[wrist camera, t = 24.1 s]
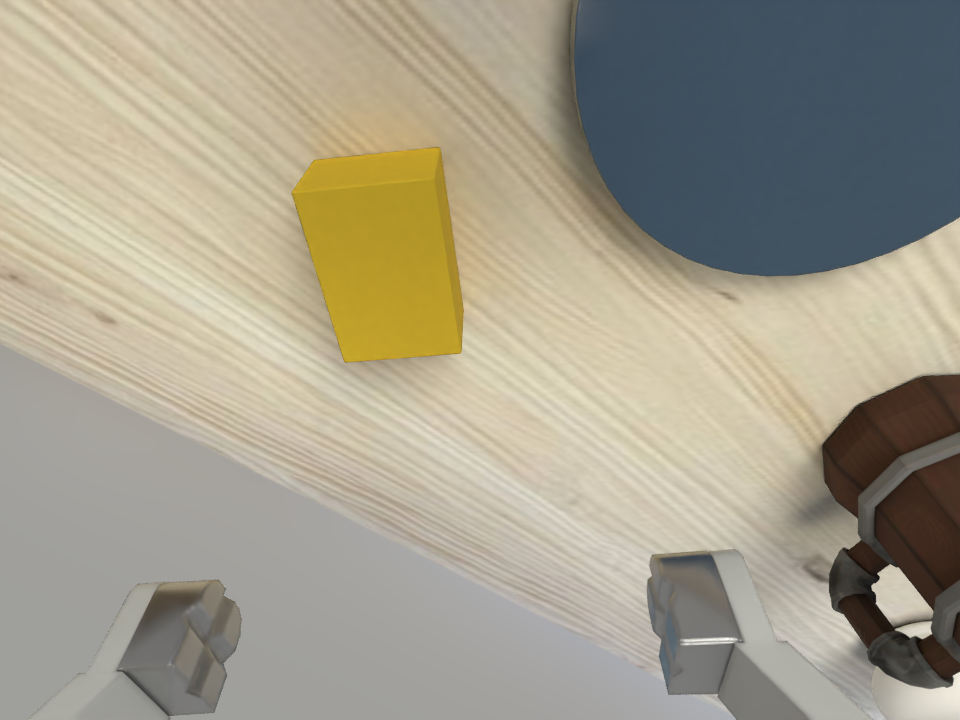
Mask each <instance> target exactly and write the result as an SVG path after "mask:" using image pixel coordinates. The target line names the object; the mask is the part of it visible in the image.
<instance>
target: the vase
mask: <svg viewBox="0 0 960 720" xmlns="http://www.w3.org/2000/svg"><path fill="white" fill-rule="evenodd" d="M931 624H932V621H928V622H919V623H913V624H909V625H904V626H902V627H899V628H896V629H895V630H896V631H899V632H902V633H904V634H906V635H907V636H908V637H909V638H911V637H914V636H917V637H919V638H921V639H924V638H926V637H927V636H929V635H931V634H932V632H931ZM953 678H954V681H953V686H951V687H949V688H946V687H940V688H935V689H926V688H921V687H915V686H910V685H908V684H905V683H903V682H901V681H899V680H897V679H895V678H893V677H890V676H888V675H886V674H885V673H884V672H883V671H882V670H881V669H880V668H879V667H878V666H876V667H875V669H874V672H873V676H872V693H873V697H874V700H875V702H876V705H877V707H878V708H879V710H880V711H881V713H882V714H883V716H884V717H885V718H886V719H887V720H960V672H959V673H957V674H955V675H953Z"/></svg>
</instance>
